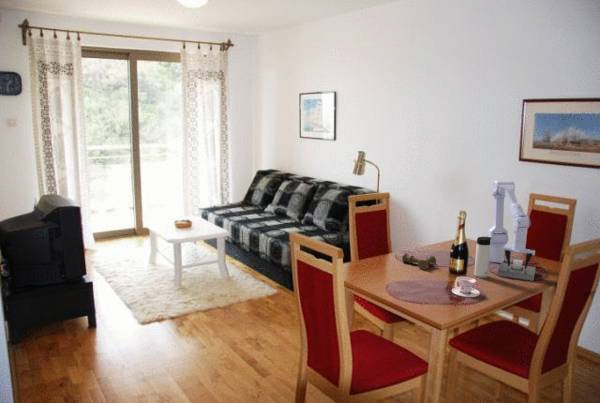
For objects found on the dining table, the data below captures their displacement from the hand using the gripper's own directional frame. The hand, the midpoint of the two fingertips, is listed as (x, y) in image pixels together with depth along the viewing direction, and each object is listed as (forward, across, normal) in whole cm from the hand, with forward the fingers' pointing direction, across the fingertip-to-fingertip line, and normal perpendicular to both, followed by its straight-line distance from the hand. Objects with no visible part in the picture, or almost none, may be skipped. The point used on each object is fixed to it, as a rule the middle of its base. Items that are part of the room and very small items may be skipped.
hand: (517, 266), depth 243 cm
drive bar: (+4, 0, 0) cm, 4 cm away
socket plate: (+4, 0, 0) cm, 4 cm away
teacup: (+4, -18, -38) cm, 42 cm away
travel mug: (+4, -15, -12) cm, 20 cm away
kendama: (+4, -45, -10) cm, 47 cm away
